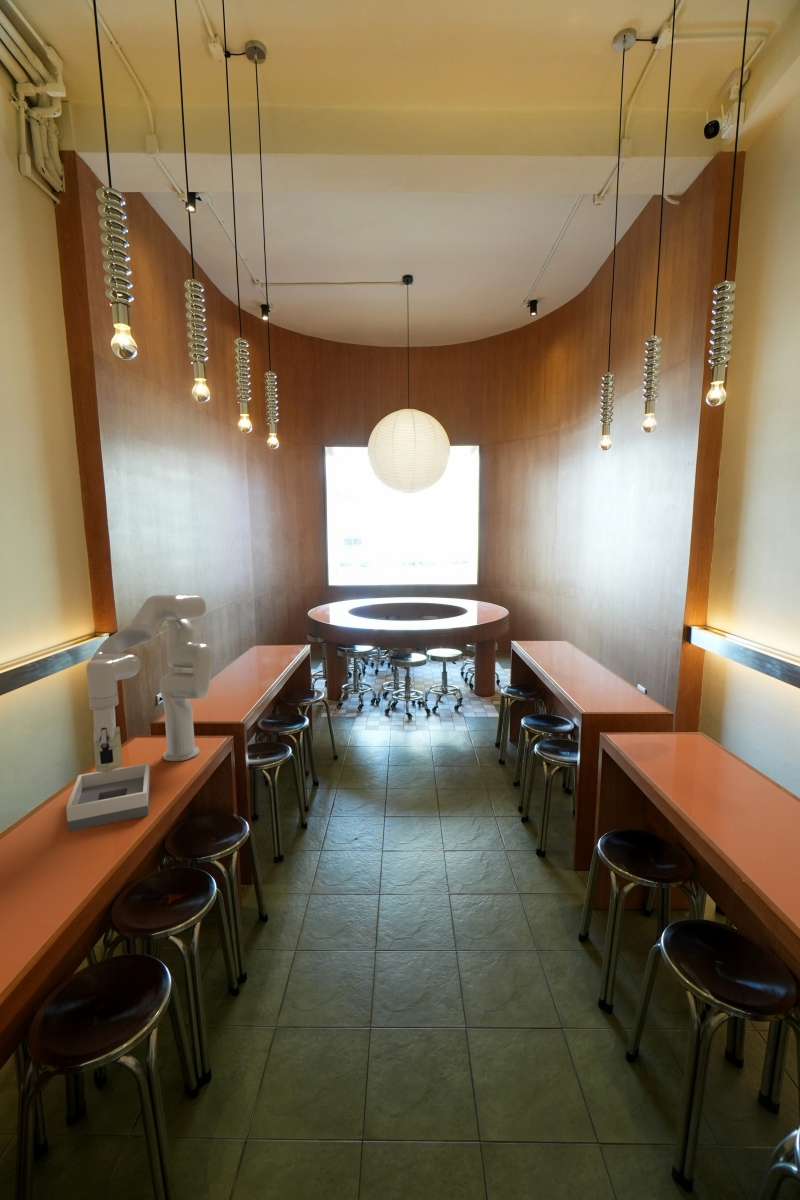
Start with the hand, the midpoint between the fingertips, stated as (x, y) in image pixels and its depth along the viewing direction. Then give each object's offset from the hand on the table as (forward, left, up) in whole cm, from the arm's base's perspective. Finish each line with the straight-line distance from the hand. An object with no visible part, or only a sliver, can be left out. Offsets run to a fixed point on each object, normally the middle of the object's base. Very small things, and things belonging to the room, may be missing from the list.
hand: (108, 757), depth 155 cm
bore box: (0, 0, -15) cm, 15 cm away
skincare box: (0, 0, -4) cm, 4 cm away
